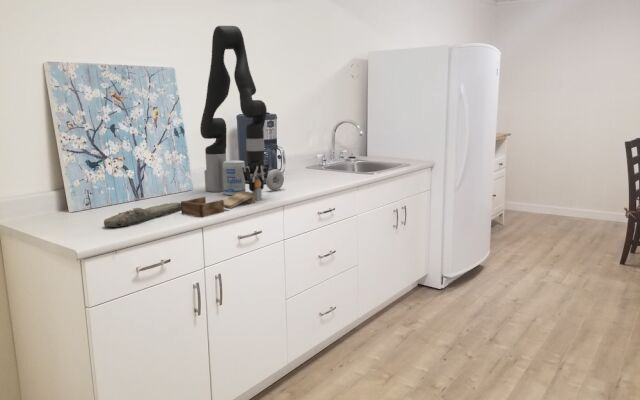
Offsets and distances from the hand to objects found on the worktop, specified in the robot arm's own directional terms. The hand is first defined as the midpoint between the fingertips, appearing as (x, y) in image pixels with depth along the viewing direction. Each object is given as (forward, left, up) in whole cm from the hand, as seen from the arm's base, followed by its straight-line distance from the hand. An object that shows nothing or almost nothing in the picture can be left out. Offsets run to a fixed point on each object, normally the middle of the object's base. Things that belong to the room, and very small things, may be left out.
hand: (256, 189), depth 215 cm
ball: (0, 0, +1) cm, 1 cm away
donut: (-1, +22, -4) cm, 23 cm away
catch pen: (-9, -28, -4) cm, 30 cm away
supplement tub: (-15, +9, -5) cm, 18 cm away
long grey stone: (-25, -41, -5) cm, 48 cm away
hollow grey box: (0, 0, -4) cm, 4 cm away
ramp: (-4, -11, -4) cm, 13 cm away
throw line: (-7, -21, -4) cm, 22 cm away
